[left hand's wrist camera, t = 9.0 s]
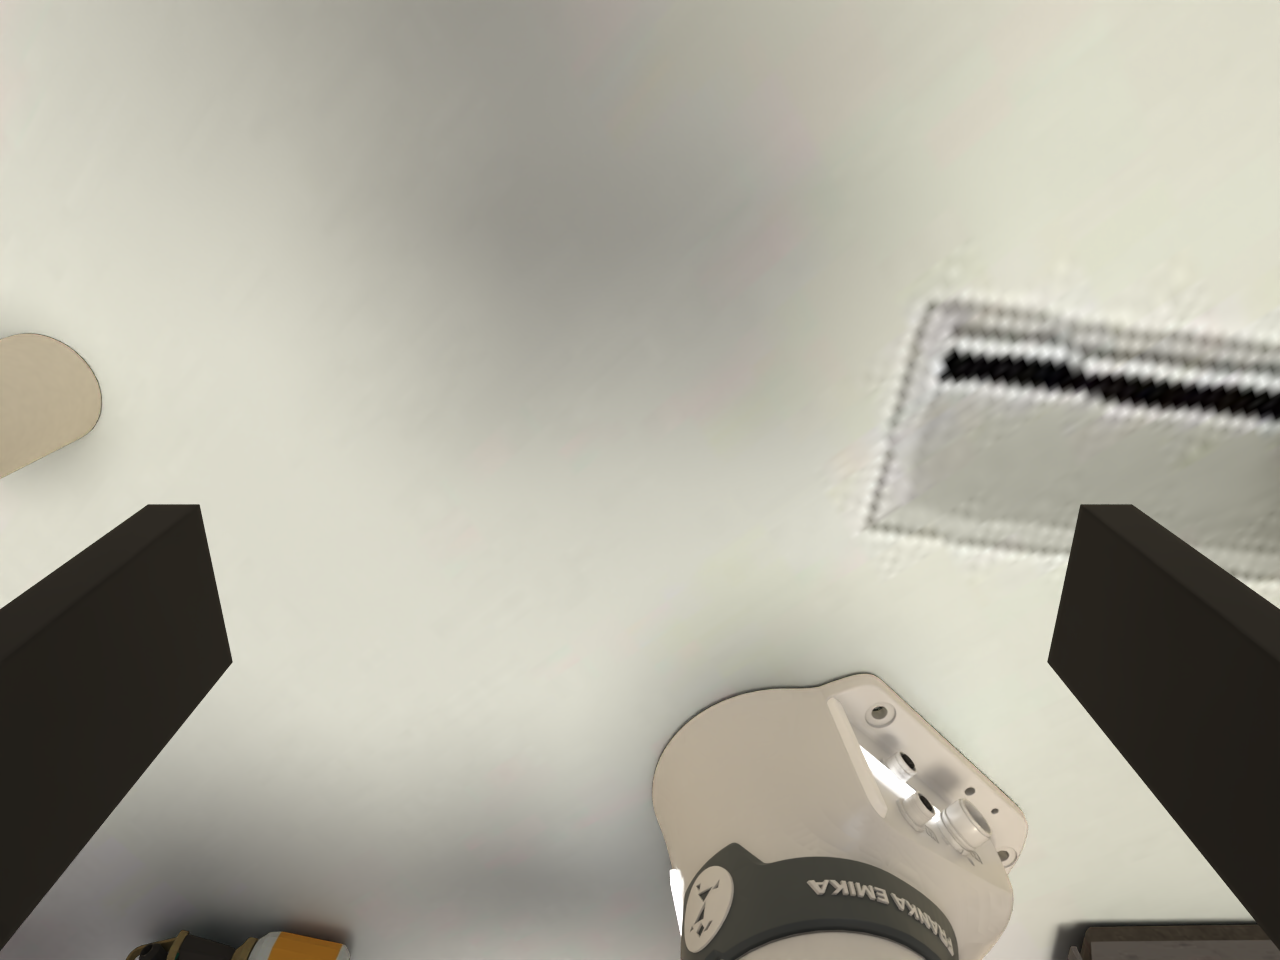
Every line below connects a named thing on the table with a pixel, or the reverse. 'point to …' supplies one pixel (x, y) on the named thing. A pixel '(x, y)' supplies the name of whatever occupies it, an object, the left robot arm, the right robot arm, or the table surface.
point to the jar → (42, 399)
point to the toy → (1176, 943)
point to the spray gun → (242, 949)
